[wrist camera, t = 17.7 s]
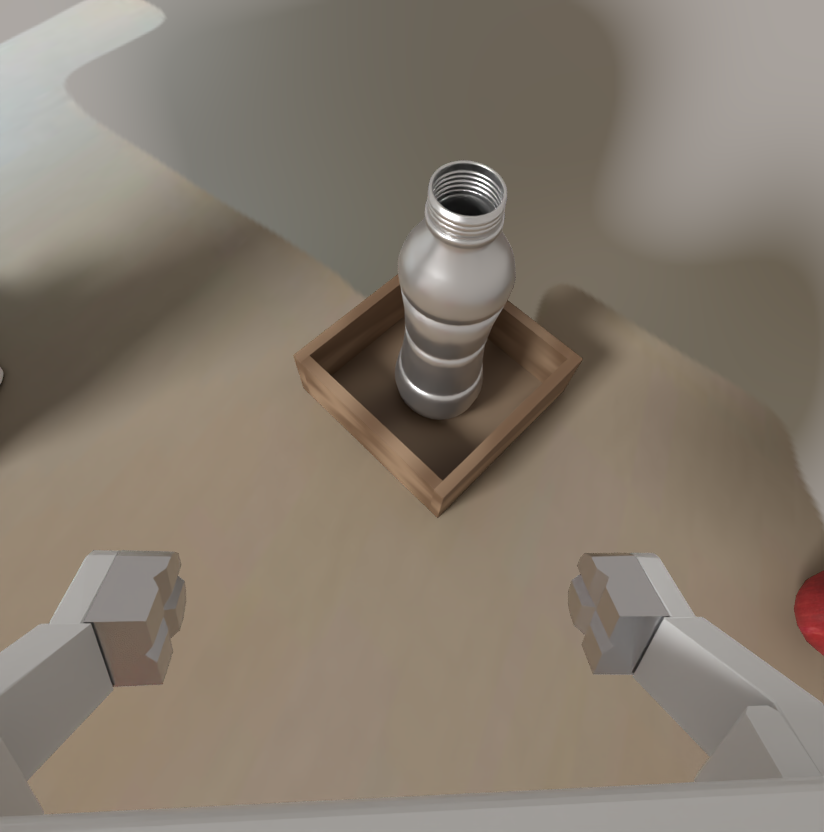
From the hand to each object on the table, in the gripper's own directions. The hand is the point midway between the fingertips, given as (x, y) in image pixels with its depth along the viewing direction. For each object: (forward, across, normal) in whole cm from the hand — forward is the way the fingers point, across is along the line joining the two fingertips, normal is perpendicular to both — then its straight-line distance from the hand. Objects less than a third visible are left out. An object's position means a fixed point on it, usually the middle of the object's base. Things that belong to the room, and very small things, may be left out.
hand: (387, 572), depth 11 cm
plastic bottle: (+29, -6, +13) cm, 32 cm away
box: (+30, -6, +12) cm, 33 cm away
